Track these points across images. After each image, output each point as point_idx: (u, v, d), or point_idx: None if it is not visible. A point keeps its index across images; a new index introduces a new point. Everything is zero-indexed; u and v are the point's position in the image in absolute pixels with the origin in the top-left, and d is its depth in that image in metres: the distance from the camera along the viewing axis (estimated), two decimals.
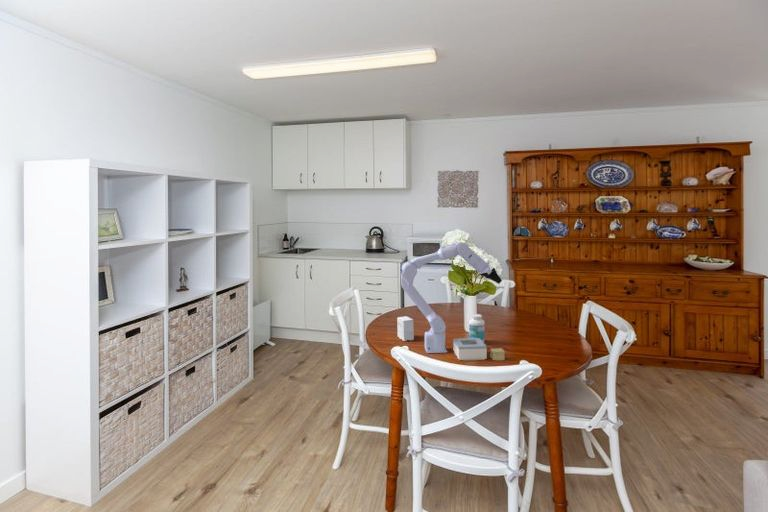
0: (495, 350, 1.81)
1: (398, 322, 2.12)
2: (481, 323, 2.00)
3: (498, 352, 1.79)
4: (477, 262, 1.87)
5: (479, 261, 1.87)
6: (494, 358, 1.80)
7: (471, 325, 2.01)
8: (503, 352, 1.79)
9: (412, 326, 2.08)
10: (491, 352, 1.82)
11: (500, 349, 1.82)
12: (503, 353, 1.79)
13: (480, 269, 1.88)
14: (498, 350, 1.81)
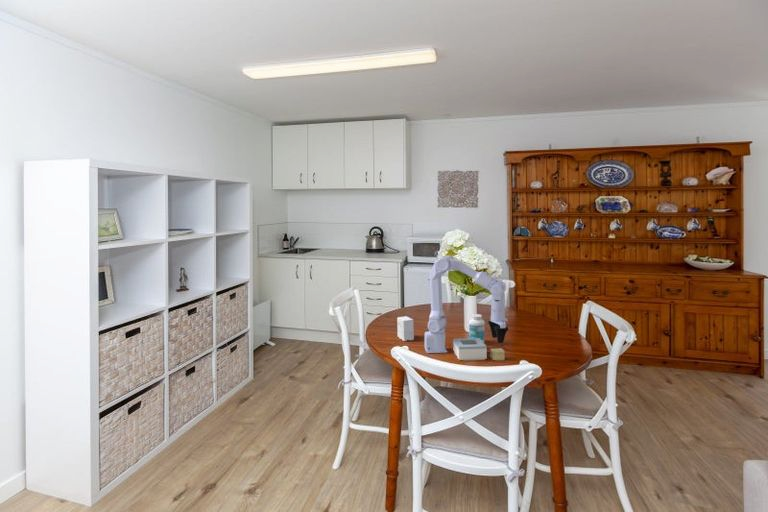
0: (495, 350, 1.81)
1: (398, 322, 2.12)
2: (481, 323, 2.00)
3: (498, 352, 1.79)
4: (500, 310, 1.76)
5: (502, 311, 1.77)
6: (494, 358, 1.80)
7: (471, 325, 2.01)
8: (503, 352, 1.79)
9: (412, 326, 2.08)
10: (491, 352, 1.82)
11: (500, 349, 1.82)
12: (503, 353, 1.79)
13: (496, 318, 1.77)
14: (498, 350, 1.81)
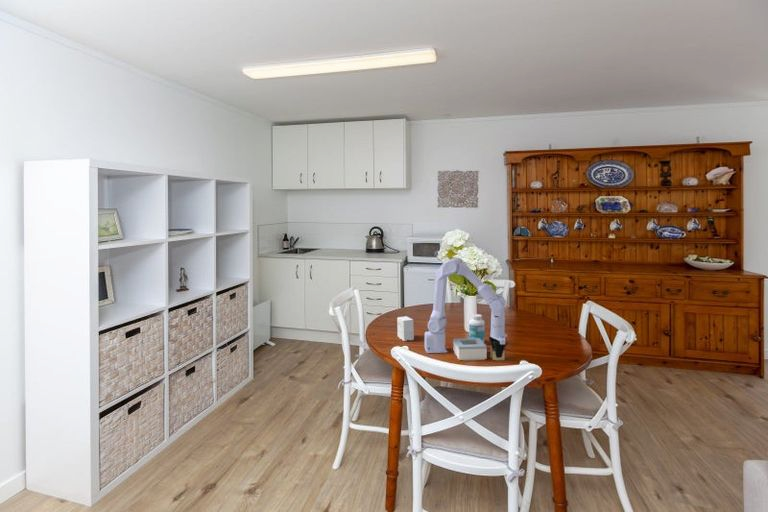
0: None
1: (398, 322, 2.12)
2: (481, 323, 2.00)
3: None
4: (499, 326, 1.77)
5: (501, 327, 1.77)
6: (494, 358, 1.80)
7: (471, 325, 2.01)
8: (503, 352, 1.79)
9: (412, 326, 2.08)
10: (491, 352, 1.82)
11: None
12: (503, 353, 1.79)
13: (496, 334, 1.78)
14: None
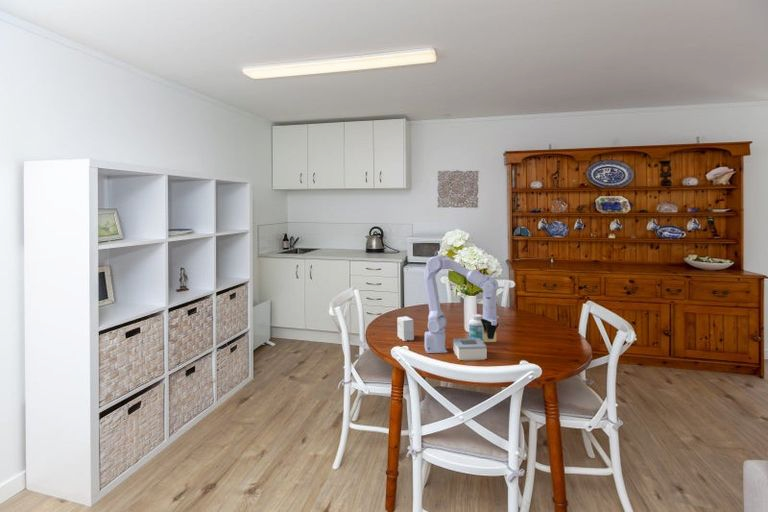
0: None
1: (398, 322, 2.12)
2: (481, 323, 2.00)
3: None
4: (491, 308, 1.78)
5: (493, 309, 1.78)
6: (486, 339, 1.80)
7: (471, 325, 2.01)
8: (495, 333, 1.80)
9: (412, 326, 2.08)
10: (483, 333, 1.82)
11: None
12: (495, 334, 1.80)
13: (487, 315, 1.78)
14: None
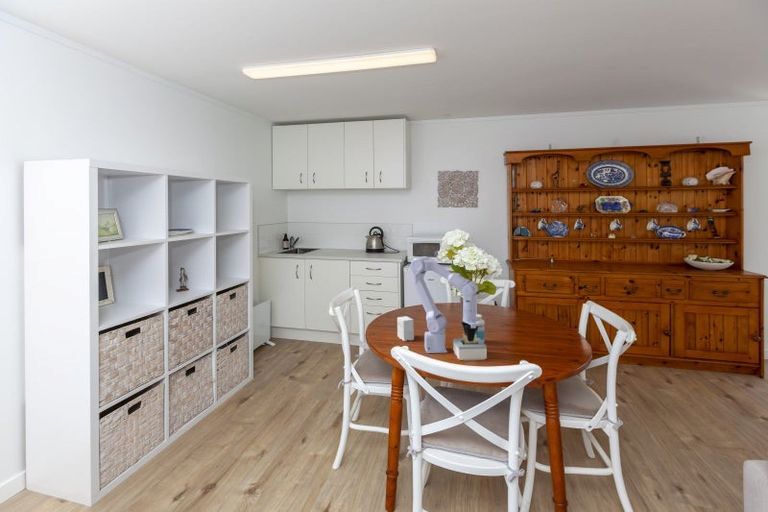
0: None
1: (398, 322, 2.12)
2: (481, 323, 2.00)
3: None
4: (471, 311, 1.81)
5: (473, 312, 1.81)
6: (466, 342, 1.83)
7: None
8: (475, 336, 1.83)
9: (412, 326, 2.08)
10: (464, 336, 1.86)
11: None
12: (475, 337, 1.83)
13: (467, 318, 1.82)
14: None
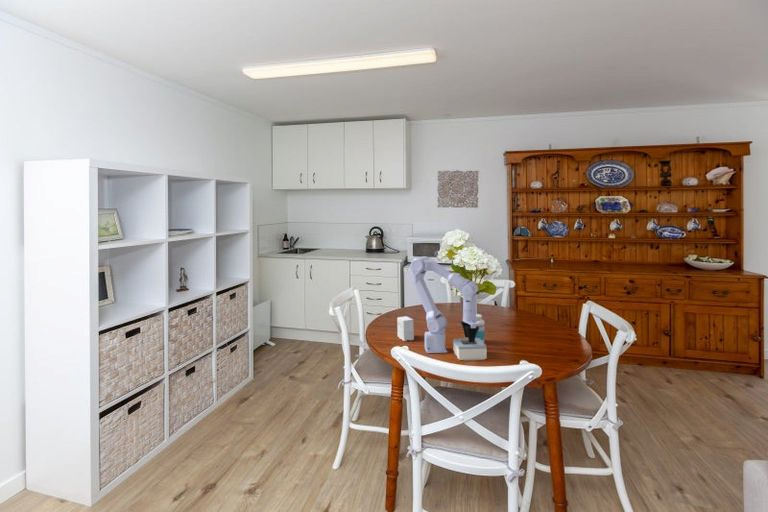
0: None
1: (398, 322, 2.12)
2: (481, 323, 2.00)
3: None
4: (471, 311, 1.81)
5: (473, 312, 1.81)
6: None
7: None
8: None
9: (412, 326, 2.08)
10: None
11: None
12: None
13: (467, 318, 1.82)
14: None
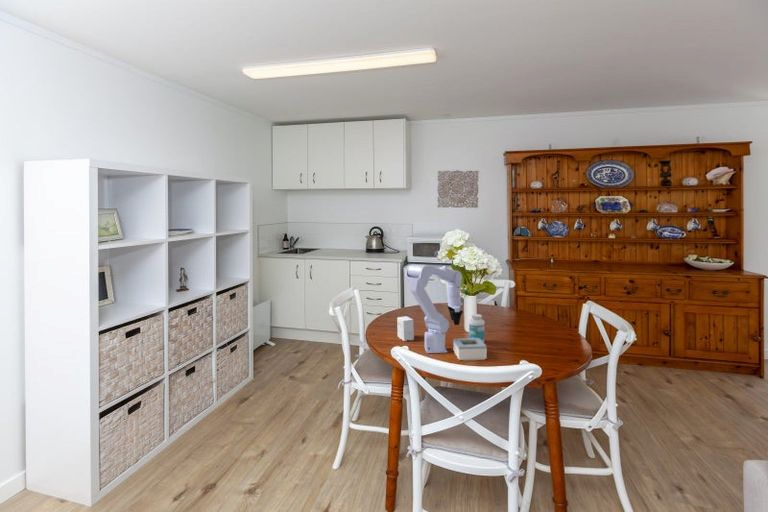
0: None
1: (398, 322, 2.12)
2: (481, 323, 2.00)
3: None
4: (455, 296, 1.97)
5: (457, 297, 1.97)
6: None
7: (471, 325, 2.01)
8: None
9: (412, 326, 2.08)
10: None
11: None
12: None
13: (452, 303, 1.98)
14: None
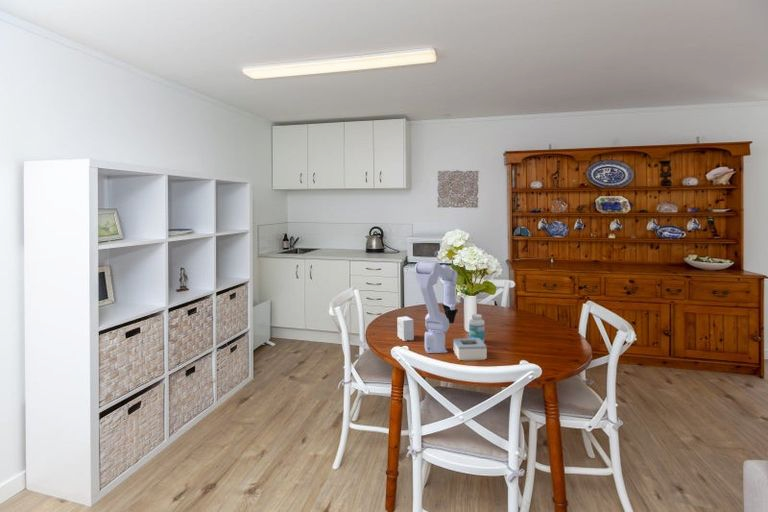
0: None
1: (398, 322, 2.12)
2: (481, 323, 2.00)
3: None
4: (450, 295, 2.01)
5: (452, 295, 2.01)
6: None
7: (471, 325, 2.01)
8: None
9: (412, 326, 2.08)
10: None
11: None
12: None
13: (447, 301, 2.01)
14: None
